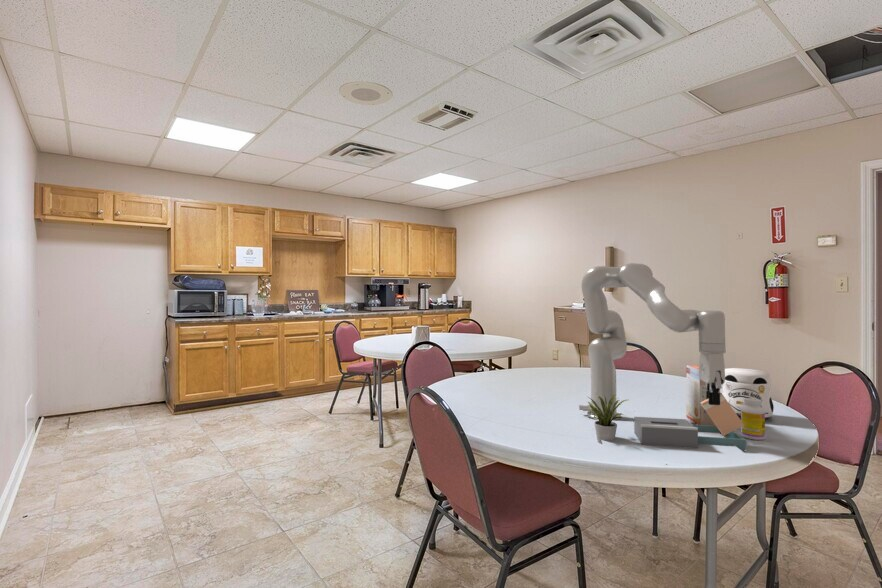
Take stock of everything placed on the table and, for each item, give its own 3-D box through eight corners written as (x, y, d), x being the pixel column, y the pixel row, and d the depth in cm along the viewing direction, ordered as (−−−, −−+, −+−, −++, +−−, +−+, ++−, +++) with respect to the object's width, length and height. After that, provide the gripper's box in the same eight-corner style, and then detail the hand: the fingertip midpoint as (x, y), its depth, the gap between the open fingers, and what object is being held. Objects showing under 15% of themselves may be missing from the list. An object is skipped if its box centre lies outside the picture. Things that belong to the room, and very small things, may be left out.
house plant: (628, 436, 151) (628, 389, 151) (636, 450, 138) (636, 398, 138) (585, 434, 154) (584, 387, 154) (589, 447, 141) (588, 396, 141)
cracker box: (717, 428, 160) (716, 370, 160) (699, 427, 161) (698, 370, 161) (702, 417, 174) (702, 364, 174) (685, 416, 175) (685, 364, 175)
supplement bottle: (766, 441, 145) (765, 402, 145) (741, 438, 148) (741, 400, 148) (764, 436, 151) (763, 398, 151) (740, 433, 154) (740, 396, 154)
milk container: (737, 422, 166) (737, 375, 166) (711, 410, 184) (711, 367, 184) (784, 423, 166) (784, 375, 166) (754, 410, 183) (754, 367, 183)
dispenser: (641, 449, 139) (641, 425, 139) (634, 437, 151) (634, 414, 151) (698, 452, 135) (697, 428, 135) (685, 440, 147) (685, 417, 147)
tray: (696, 447, 140) (696, 436, 140) (682, 433, 154) (682, 423, 154) (746, 450, 137) (745, 439, 137) (727, 436, 150) (727, 426, 150)
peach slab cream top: (723, 435, 143) (701, 403, 145) (721, 434, 145) (699, 402, 147) (744, 425, 142) (721, 393, 144) (742, 423, 144) (719, 392, 145)
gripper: (691, 345, 154) (692, 398, 153) (707, 350, 138) (709, 409, 138) (715, 345, 152) (717, 399, 152) (734, 351, 137) (736, 410, 137)
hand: (713, 403), depth 145 cm, fingers closed on peach slab cream top, 1 cm apart
